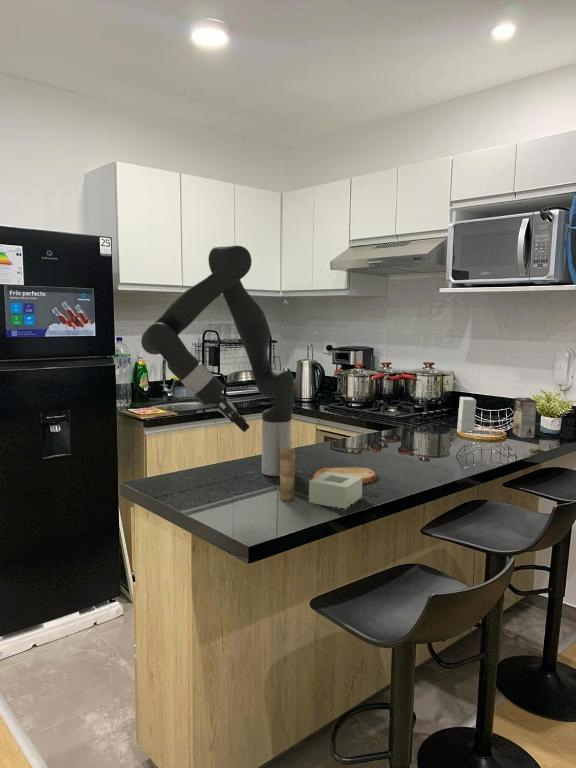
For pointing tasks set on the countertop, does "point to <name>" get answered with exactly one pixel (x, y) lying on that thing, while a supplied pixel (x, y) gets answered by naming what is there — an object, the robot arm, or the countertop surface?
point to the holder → (335, 490)
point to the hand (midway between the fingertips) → (245, 426)
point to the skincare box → (466, 414)
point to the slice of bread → (350, 473)
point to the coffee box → (524, 417)
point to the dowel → (287, 474)
